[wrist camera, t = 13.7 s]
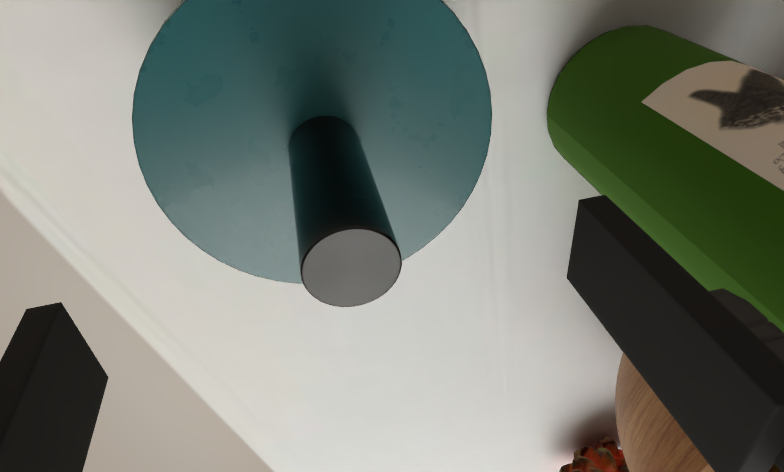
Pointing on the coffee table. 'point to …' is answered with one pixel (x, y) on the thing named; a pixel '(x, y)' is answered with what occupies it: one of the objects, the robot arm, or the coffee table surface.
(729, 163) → the wine bottle
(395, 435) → the coffee table surface
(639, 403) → the bowl
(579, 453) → the dragon fruit
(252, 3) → the lid
